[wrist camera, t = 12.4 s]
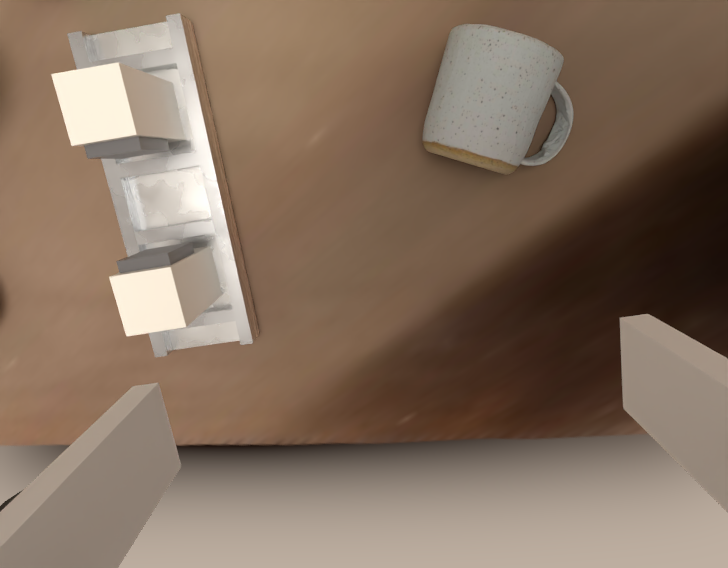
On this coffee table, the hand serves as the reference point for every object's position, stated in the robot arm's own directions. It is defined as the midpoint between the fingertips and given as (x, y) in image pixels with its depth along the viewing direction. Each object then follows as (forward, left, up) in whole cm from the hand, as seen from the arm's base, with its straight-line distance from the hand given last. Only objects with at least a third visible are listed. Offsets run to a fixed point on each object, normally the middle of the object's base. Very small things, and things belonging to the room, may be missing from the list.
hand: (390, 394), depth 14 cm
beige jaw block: (+15, 0, -26) cm, 30 cm away
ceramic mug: (-10, -8, -27) cm, 30 cm away
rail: (+15, -6, -27) cm, 31 cm away
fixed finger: (+15, -12, -25) cm, 32 cm away
